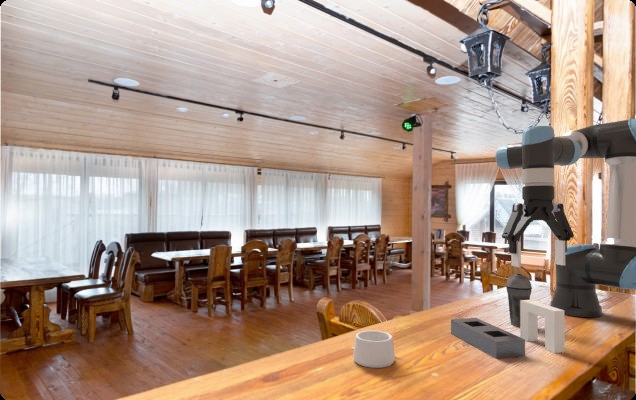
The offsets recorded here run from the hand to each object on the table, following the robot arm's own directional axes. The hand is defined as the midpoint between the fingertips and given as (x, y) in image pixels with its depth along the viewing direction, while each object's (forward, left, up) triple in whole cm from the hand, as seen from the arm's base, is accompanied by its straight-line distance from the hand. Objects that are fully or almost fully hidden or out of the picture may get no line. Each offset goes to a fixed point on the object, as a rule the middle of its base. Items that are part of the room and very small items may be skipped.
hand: (538, 265), depth 110 cm
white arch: (0, 0, -21) cm, 21 cm away
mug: (+46, 0, -21) cm, 50 cm away
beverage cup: (-7, -17, -21) cm, 28 cm away
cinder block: (+14, -4, -21) cm, 25 cm away
